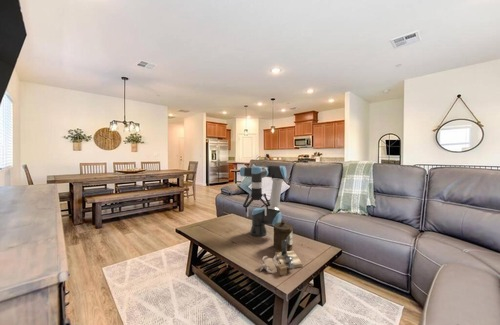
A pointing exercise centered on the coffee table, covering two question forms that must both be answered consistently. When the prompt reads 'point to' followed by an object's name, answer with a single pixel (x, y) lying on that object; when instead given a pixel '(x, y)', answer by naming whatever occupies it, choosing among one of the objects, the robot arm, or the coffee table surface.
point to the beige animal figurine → (269, 264)
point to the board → (291, 253)
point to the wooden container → (282, 235)
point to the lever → (284, 252)
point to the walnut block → (281, 269)
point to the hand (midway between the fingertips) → (256, 215)
